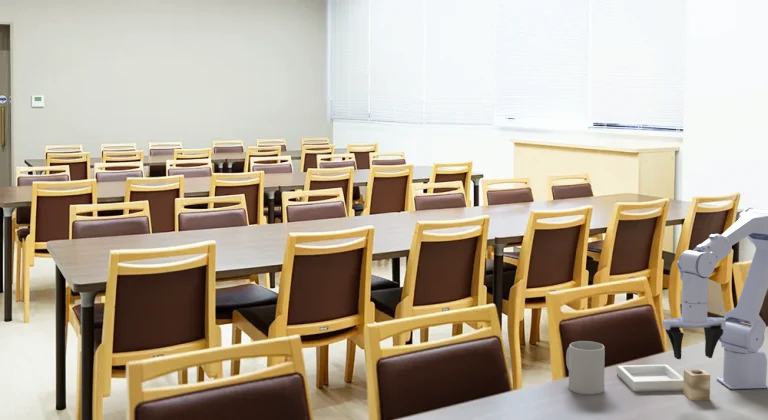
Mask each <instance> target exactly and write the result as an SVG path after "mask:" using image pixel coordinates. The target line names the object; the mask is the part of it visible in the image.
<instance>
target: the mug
mask: <svg viewBox="0 0 768 420" xmlns="http://www.w3.org/2000/svg"><path fill="white" fill-rule="evenodd" d="M568 345H569V346H568V347H567V350H566V353H565V354H566V356H565V362H566V366H567V367H566V368H567V370H568V389H569V390H570V391H571V392H572V393H575V394H579V395H587V396H588V395H590V396H591V395H599V394H601V393H604V391H605V355H606V352H605V351H606V349H605V348H606V347H605V346H604V344H602V343H600V342H595V341H591V340H590V341H588V340H578V341H574V342H571V343H570V344H568Z"/></svg>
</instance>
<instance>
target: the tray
mask: <svg viewBox="0 0 768 420" xmlns="http://www.w3.org/2000/svg"><path fill="white" fill-rule="evenodd" d="M616 376H617V377H618V378H619V379H620V380H621V381H622V382H623V383H625V385H626V386H627V387H628V388H630V390H631V391H633V392H635V393H637V392H638V393H639V392H670V391H677V392H679V391H683V384H684V376H683V375H681V374H680V373H678V372H677V371H676V370H675V369H673V368H672V367H671V366H669V365H668V364H633V365H629V364H628V365H617V366H616Z"/></svg>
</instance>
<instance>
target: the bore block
mask: <svg viewBox="0 0 768 420" xmlns="http://www.w3.org/2000/svg"><path fill="white" fill-rule="evenodd" d="M683 378H684V384H683V390H682V392H683V393H682V394H683V395H684V396H685V397H686V398H688V399H689V400H690V401H702V400H704V401H706V400H707V401H709V400H710V398H711V396H710V395H711V374H710V373H709V372H707V371H706V370H704V369H703V368H702V369H700V368H699V369H698V368H697V369H696V368H693V369H692V368H691V369H683Z"/></svg>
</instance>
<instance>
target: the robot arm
mask: <svg viewBox="0 0 768 420" xmlns="http://www.w3.org/2000/svg"><path fill="white" fill-rule="evenodd" d="M745 238H747V239H748V240H749V242H750V243H752V245H754V247H755V251H754V255H753V257H752V261H751V262H750V265H749V269H748V272H747V275H746V278H745V280H744V284H743V287H742V289H741V292H740V296H739V298H738V302H737V303H736V304H737V305H736V307H733V308H732V309H730V310H729V311H726V312H725V313H724V317H711V316H709V317H708V310H709V309H708V304H709V301H708V300H709V298H708V297H709V277H710V276H712V274H713V273H714V270H715V269H716V266H718V263H719V262H721V261H723V259H725V258H726V257H728V256H729V255H730V254H731V252H732V246H734V245H735V244H737V243H739V242H740V241H742V240H743V239H745ZM676 266H677V267H676V268H677V270H678V272H679V275H680V276H679V277H680V278H679V279H680V280H681V281H682V285H681V287H682V288H681V316H680V317H676V318H670V319H662V329H664V330H665V332H666V335H667V336H668V339H669V341H670V343H671V348H672V350H673V355H674V358H675V359H677V360H682V345H683V340H684V339H683V338H684V333H683V331H682V330H681V329H697V328H703V330H704V339H705V342H704V344H705V345H704V353H705V354H704V355H705V357H707V358H709V359H712V358H713V356H714V352H715V349H716V346H717V344H718V342H720V344H721V348H723V366H722V367H723V369H722V370H723V372H722V376H717V377H716V380H717V381H718V382H719V383H721V384H723V385H724V386H725V387H727V388H728V389H730V390H741V389H742V390H743V389H747V390H748V389H767V388H768V385H767V369H768V363H767V362H768V360H767V355H766V352H765V351H764V350H763V349H762V346H764V345H763V344H764V342H765V332H766V327H767V325H766V323H765V322H764V320H763V318H762V316H760V313H761V309H762V307H763V303H764V300H765V297H766V295H767V291H768V209H761V208H759V209H758V208H754V207H747V208H746V207H745V209H744V210H743V211H742V212H739V215H738V220H736V221H735V222H734V223H733V224H731V225H730V226H729V227H728V228H727V229H726V230H725V231H724V232H723V233H721V234H719V233H715V234H714V233H713V234H712V233H711V234H710V235H708V238H707V239H706V240H704V241H703V242H701V243H700V244H698V245H696V247H695V248H693V250H691V249H687V250H685V251H683V252H682V253H681V254H680V255H679V256H678V261H677V262H676Z"/></svg>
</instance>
